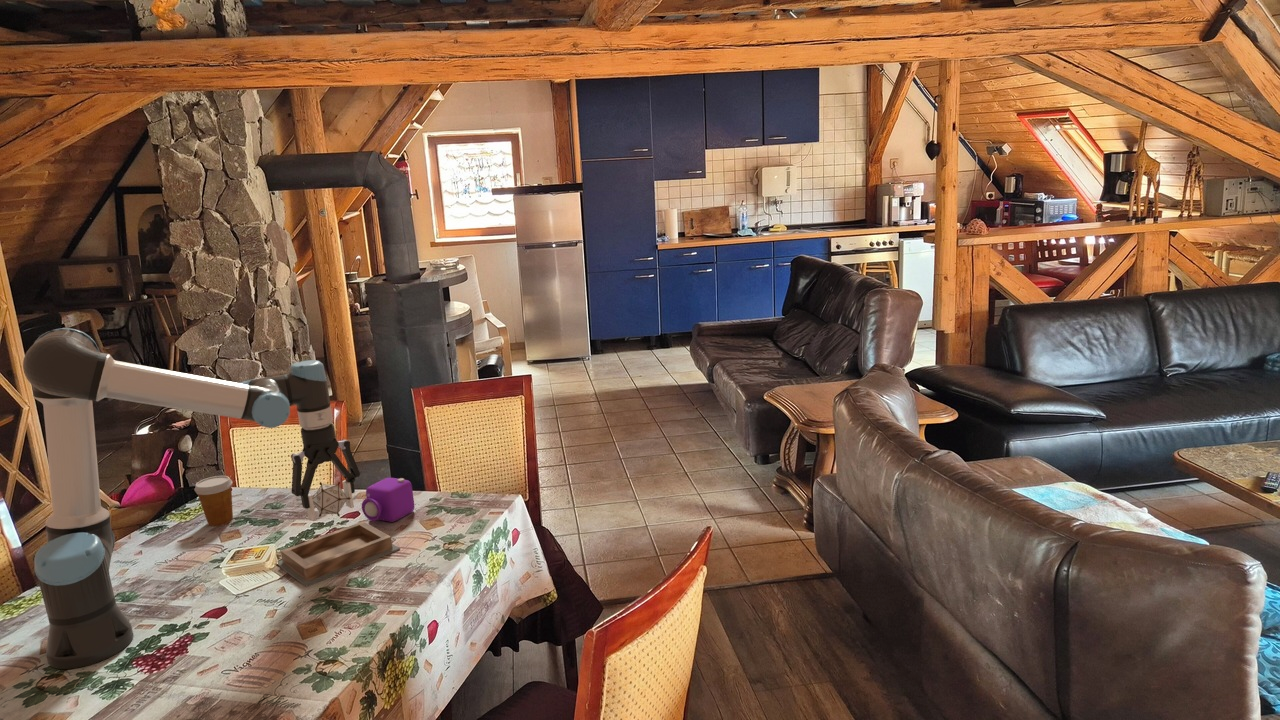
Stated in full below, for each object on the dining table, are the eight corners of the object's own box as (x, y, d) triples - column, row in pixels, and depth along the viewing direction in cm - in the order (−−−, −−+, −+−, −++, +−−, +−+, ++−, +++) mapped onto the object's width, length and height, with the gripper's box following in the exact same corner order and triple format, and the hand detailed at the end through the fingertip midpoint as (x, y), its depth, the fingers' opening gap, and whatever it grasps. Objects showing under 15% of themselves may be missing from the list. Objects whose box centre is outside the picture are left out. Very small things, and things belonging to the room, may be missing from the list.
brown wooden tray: (308, 582, 197) (305, 569, 196) (283, 563, 208) (280, 550, 207) (392, 549, 211) (390, 536, 210) (365, 533, 222) (363, 521, 221)
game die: (341, 525, 209) (362, 490, 210) (325, 527, 201) (346, 491, 201) (313, 506, 211) (333, 471, 211) (295, 508, 202) (317, 472, 203)
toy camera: (357, 527, 227) (351, 492, 224) (386, 506, 239) (381, 473, 237) (392, 529, 223) (387, 494, 221) (419, 508, 236) (415, 475, 234)
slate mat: (305, 586, 195) (305, 585, 195) (275, 563, 208) (275, 562, 208) (400, 549, 211) (399, 548, 211) (366, 530, 224) (366, 529, 224)
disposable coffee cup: (202, 519, 239) (194, 479, 236) (239, 511, 242) (231, 472, 240) (201, 531, 230) (192, 490, 227) (239, 523, 234) (231, 483, 231)
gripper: (277, 440, 192) (293, 532, 197) (366, 416, 206) (379, 502, 211) (265, 434, 197) (281, 523, 202) (352, 411, 211) (365, 495, 217)
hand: (331, 512), depth 207 cm, fingers closed on game die, 9 cm apart
